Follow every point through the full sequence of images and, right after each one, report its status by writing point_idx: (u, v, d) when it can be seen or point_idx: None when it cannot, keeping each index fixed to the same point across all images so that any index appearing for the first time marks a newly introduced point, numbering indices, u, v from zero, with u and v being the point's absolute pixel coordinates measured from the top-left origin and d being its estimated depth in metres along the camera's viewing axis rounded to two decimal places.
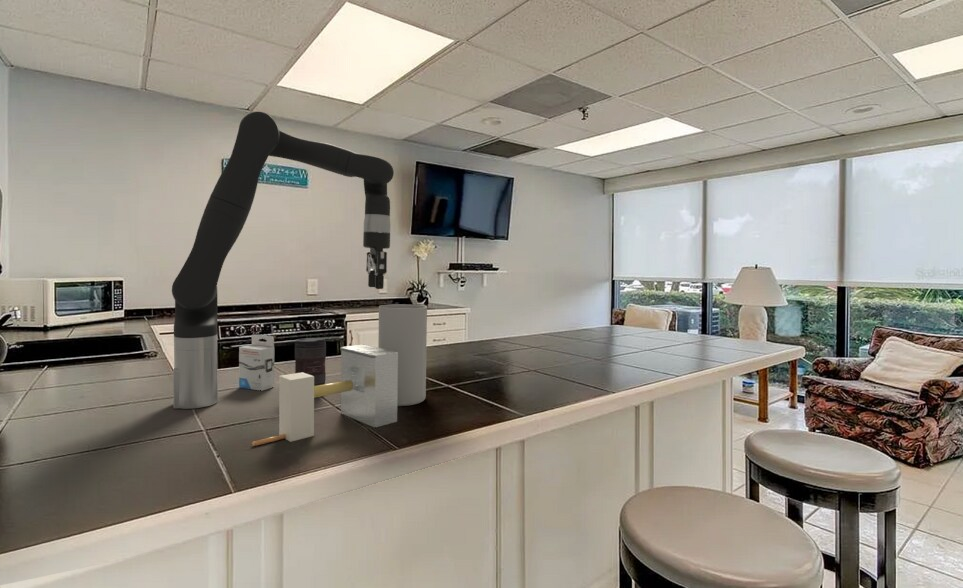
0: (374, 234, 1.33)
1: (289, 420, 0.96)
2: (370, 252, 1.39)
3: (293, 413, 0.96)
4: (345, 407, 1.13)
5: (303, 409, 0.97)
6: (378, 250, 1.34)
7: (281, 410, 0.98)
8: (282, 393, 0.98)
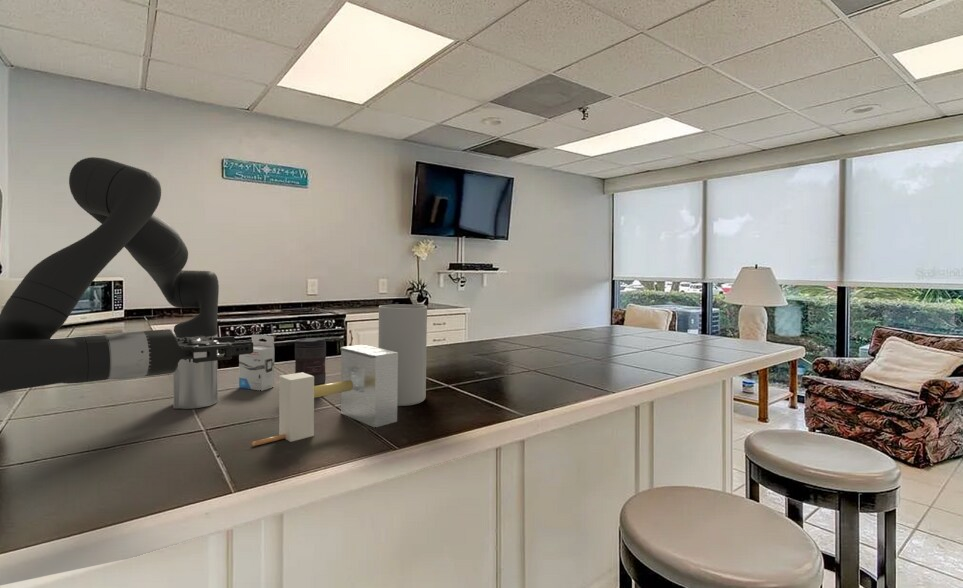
0: None
1: (289, 420, 0.96)
2: (187, 345, 0.81)
3: (293, 413, 0.96)
4: (345, 407, 1.13)
5: (303, 409, 0.97)
6: None
7: (281, 410, 0.98)
8: (282, 393, 0.98)
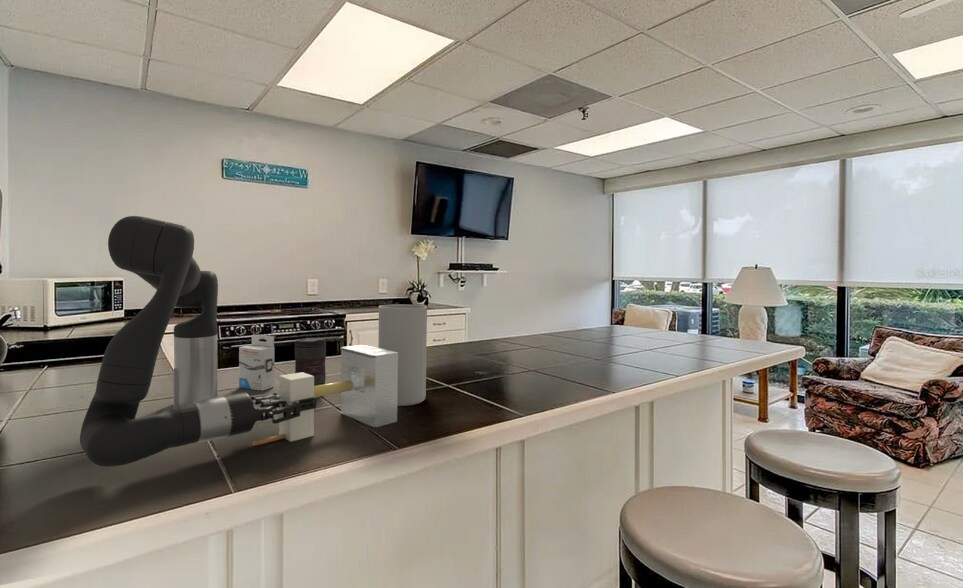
0: None
1: (289, 420, 0.96)
2: (261, 408, 0.91)
3: None
4: (345, 407, 1.13)
5: None
6: None
7: None
8: (282, 393, 0.98)
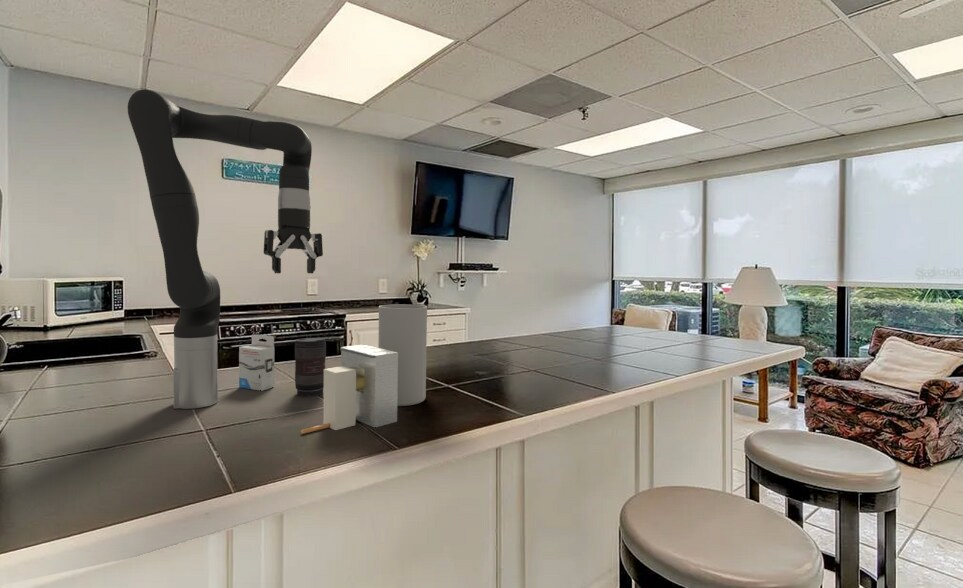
0: (278, 211, 1.18)
1: (334, 410, 1.03)
2: None
3: (337, 403, 1.03)
4: None
5: (346, 400, 1.05)
6: (278, 229, 1.17)
7: (325, 401, 1.05)
8: (326, 385, 1.05)
